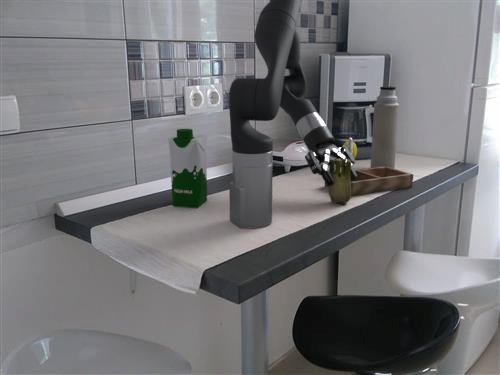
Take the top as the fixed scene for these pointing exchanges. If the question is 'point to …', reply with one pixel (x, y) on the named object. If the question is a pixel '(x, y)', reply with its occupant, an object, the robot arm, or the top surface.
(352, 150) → the lemon
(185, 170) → the milk carton
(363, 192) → the caddy
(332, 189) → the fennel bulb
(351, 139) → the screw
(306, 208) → the top surface
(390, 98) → the thermos bottle
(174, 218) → the top surface
